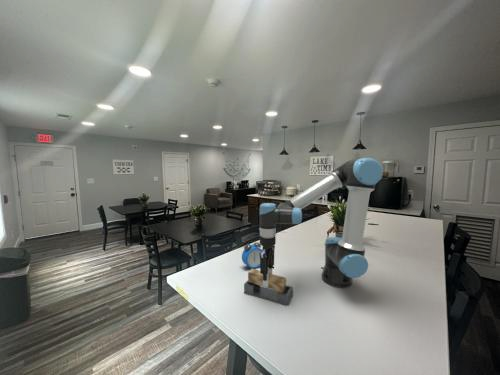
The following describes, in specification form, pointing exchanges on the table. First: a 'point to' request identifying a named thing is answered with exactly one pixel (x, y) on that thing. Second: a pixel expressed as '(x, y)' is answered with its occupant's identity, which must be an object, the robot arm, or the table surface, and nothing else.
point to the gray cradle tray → (269, 293)
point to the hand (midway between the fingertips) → (267, 283)
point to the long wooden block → (274, 280)
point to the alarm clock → (252, 255)
